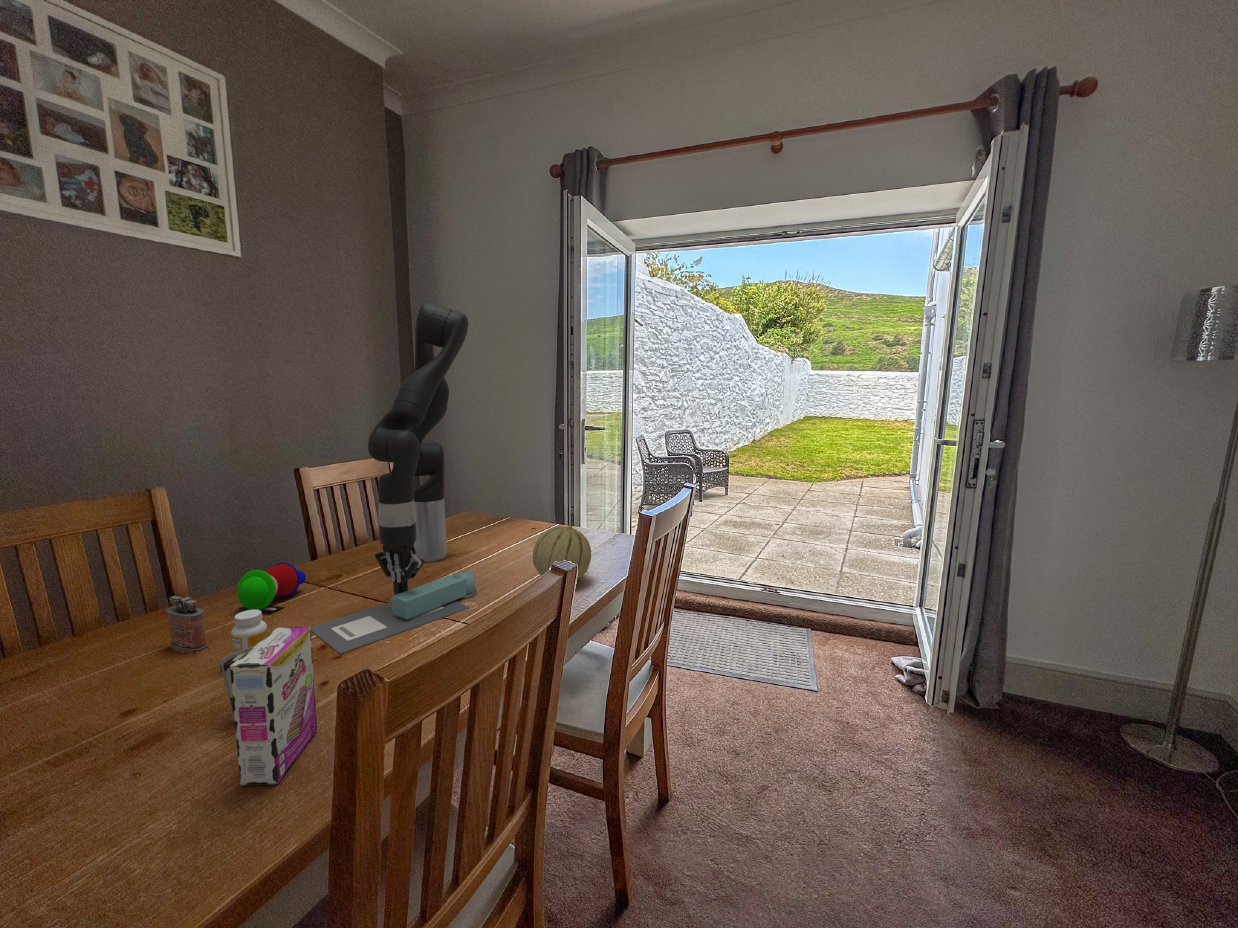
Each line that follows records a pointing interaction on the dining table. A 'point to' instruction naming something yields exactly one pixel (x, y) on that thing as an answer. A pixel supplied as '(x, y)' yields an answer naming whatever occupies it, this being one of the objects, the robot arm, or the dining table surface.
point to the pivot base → (469, 595)
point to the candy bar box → (273, 704)
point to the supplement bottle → (248, 630)
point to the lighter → (186, 625)
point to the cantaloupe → (562, 549)
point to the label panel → (375, 625)
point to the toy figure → (268, 586)
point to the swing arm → (432, 595)
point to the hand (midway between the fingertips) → (401, 596)
